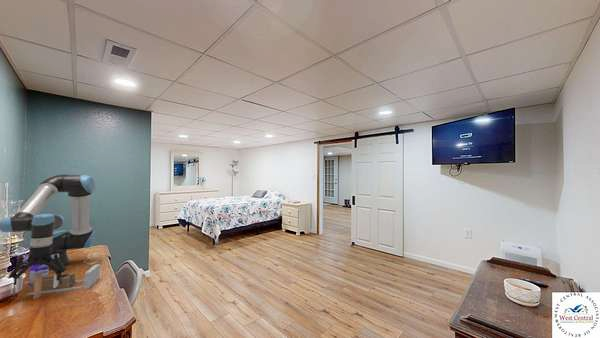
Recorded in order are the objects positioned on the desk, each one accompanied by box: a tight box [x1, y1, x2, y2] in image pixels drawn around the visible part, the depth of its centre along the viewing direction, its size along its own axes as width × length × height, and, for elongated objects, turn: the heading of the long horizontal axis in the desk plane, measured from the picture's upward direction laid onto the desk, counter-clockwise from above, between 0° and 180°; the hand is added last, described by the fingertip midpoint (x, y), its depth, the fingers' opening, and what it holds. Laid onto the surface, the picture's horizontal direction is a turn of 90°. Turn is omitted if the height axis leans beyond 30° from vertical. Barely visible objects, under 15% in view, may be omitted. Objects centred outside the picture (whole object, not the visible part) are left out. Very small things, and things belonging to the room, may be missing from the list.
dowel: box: [32, 275, 42, 300], centre depth 115 cm, size 2×2×12 cm
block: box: [30, 272, 76, 292], centre depth 125 cm, size 8×14×6 cm, turn 113°
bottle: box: [28, 264, 50, 286], centre depth 132 cm, size 7×6×17 cm
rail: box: [26, 263, 101, 296], centre depth 127 cm, size 13×26×10 cm, turn 113°
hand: (37, 289), depth 115 cm, fingers open, 13 cm apart
